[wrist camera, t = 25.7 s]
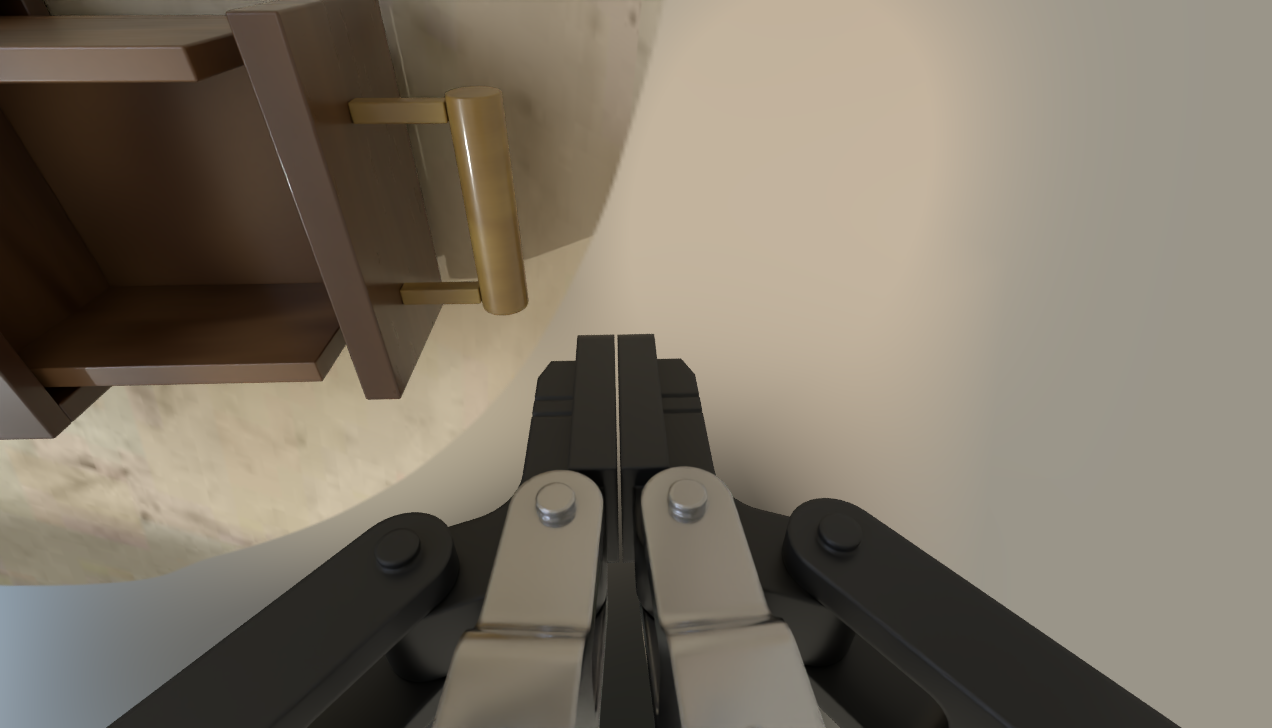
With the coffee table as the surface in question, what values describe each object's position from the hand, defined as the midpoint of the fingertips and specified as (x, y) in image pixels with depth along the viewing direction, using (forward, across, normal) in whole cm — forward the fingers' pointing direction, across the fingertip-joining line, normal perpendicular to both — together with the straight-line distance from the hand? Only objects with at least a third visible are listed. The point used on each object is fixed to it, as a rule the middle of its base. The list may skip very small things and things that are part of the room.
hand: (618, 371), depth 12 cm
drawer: (+13, -12, 0) cm, 18 cm away
